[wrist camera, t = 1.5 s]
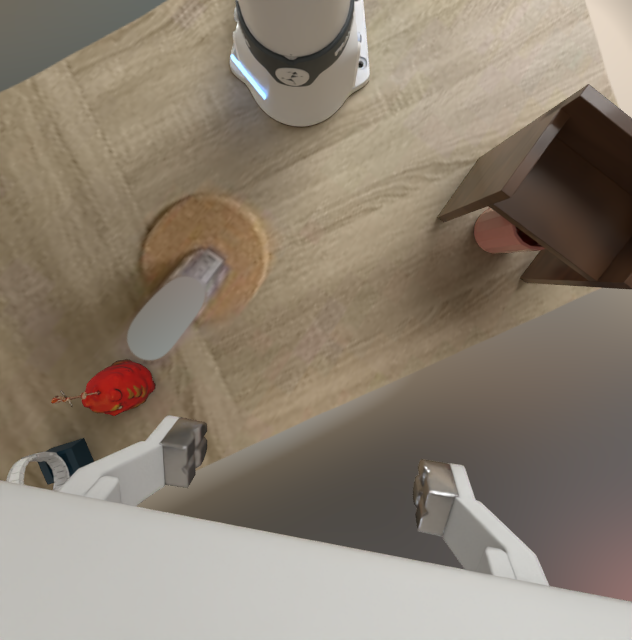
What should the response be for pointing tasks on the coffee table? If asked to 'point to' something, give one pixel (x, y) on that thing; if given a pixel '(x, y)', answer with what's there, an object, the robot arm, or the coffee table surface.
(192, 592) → the robot arm
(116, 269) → the coffee table surface
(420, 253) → the coffee table surface
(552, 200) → the dark wooden stand
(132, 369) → the red clay folk toy
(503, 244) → the cup
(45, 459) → the watch
